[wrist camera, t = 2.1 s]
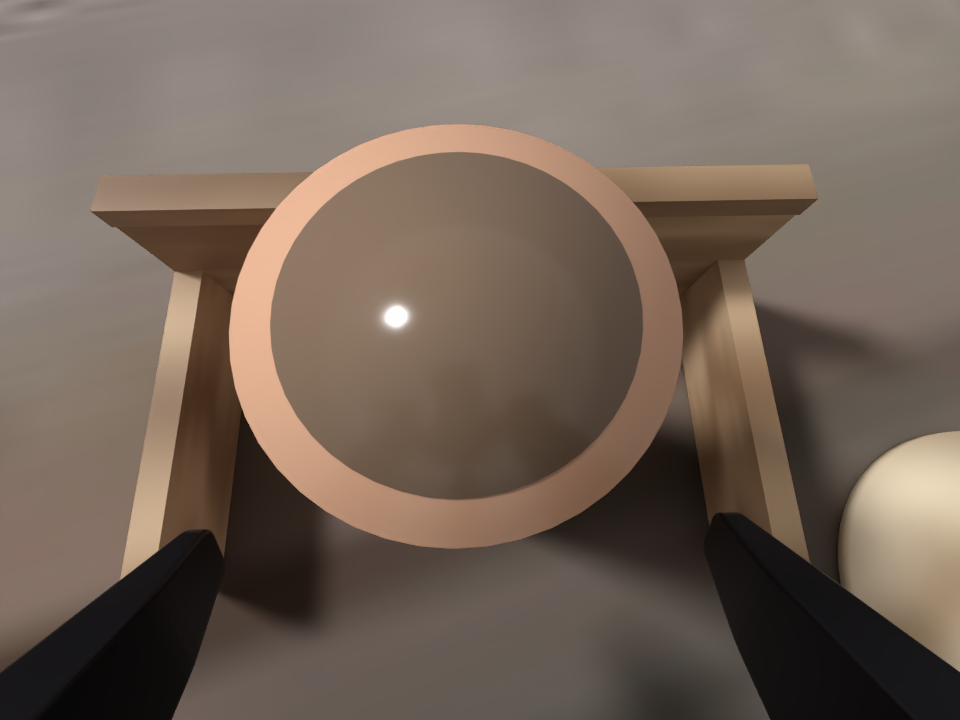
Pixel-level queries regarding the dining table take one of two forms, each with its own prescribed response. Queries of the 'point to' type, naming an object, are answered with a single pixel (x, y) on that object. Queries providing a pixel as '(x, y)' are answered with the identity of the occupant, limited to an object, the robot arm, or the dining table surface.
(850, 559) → the cream flat disc
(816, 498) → the dining table surface
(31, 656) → the robot arm
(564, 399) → the terracotta pot
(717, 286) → the cold frame
